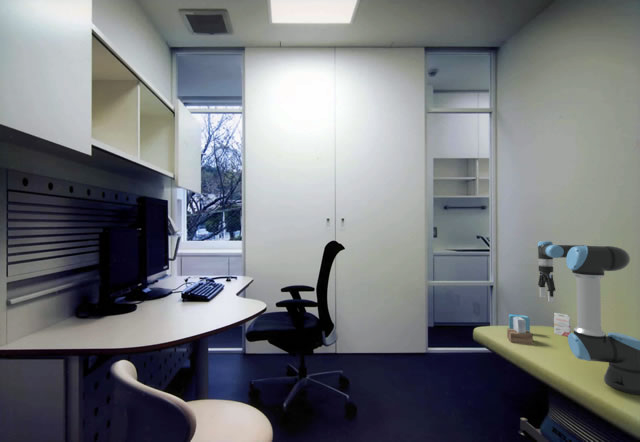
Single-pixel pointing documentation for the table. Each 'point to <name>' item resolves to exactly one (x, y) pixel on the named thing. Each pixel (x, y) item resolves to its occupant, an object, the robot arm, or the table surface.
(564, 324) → the ink cartridge box
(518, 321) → the medicine box
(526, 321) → the data package
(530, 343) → the walnut block
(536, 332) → the table surface
